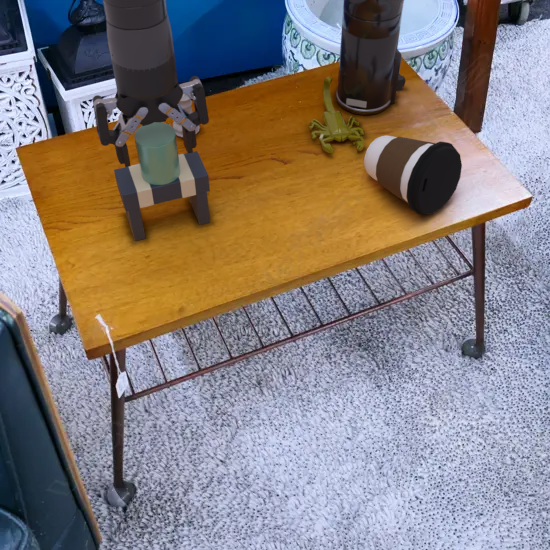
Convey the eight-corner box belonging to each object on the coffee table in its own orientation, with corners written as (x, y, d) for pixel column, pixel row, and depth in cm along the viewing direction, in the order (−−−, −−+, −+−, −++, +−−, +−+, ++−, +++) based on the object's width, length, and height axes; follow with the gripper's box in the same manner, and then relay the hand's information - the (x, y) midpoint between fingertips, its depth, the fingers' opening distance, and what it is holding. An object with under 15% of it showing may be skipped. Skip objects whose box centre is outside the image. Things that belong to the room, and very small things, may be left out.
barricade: (202, 197, 113) (197, 150, 106) (212, 222, 110) (208, 175, 103) (123, 216, 110) (113, 169, 104) (132, 242, 107) (122, 195, 100)
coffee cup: (347, 194, 113) (408, 223, 106) (359, 123, 108) (425, 149, 101) (393, 183, 120) (454, 210, 113) (407, 117, 115) (471, 140, 108)
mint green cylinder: (174, 155, 106) (169, 118, 101) (185, 180, 102) (180, 142, 97) (137, 164, 104) (130, 126, 99) (146, 189, 101) (139, 151, 96)
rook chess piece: (168, 127, 124) (163, 86, 118) (193, 119, 126) (189, 78, 120) (179, 142, 122) (174, 101, 116) (204, 134, 123) (200, 93, 117)
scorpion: (318, 158, 118) (322, 128, 114) (298, 103, 128) (301, 73, 124) (372, 154, 120) (377, 123, 115) (348, 100, 130) (352, 70, 125)
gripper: (87, 78, 85) (111, 185, 97) (208, 54, 88) (216, 161, 100) (76, 44, 90) (100, 151, 102) (191, 23, 93) (201, 129, 105)
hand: (158, 156), depth 101 cm, fingers open, 8 cm apart
